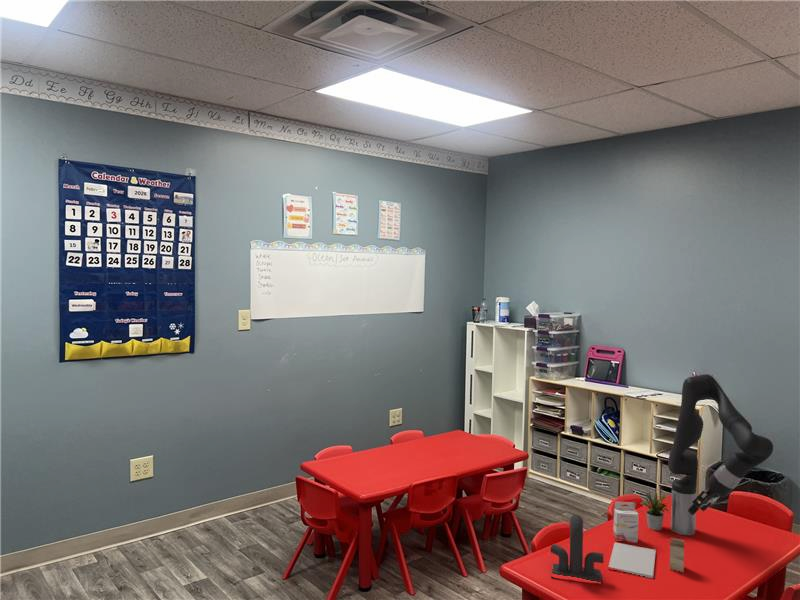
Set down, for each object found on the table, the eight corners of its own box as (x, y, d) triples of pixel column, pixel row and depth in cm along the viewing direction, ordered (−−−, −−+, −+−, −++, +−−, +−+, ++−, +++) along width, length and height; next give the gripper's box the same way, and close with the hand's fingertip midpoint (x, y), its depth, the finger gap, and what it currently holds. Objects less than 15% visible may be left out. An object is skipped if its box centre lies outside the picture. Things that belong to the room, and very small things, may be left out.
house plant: (633, 531, 251) (633, 492, 250) (634, 518, 263) (634, 482, 263) (670, 537, 245) (671, 497, 244) (669, 524, 258) (670, 486, 257)
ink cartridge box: (616, 541, 241) (616, 505, 240) (613, 536, 246) (613, 501, 245) (638, 542, 240) (639, 506, 239) (634, 537, 245) (635, 502, 244)
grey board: (614, 544, 238) (614, 542, 238) (655, 552, 231) (655, 549, 231) (608, 569, 218) (608, 566, 218) (652, 578, 212) (653, 575, 212)
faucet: (601, 564, 222) (602, 511, 221) (603, 585, 207) (604, 528, 206) (550, 557, 227) (551, 505, 226) (549, 577, 212) (550, 522, 211)
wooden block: (670, 564, 222) (670, 537, 222) (683, 566, 220) (684, 540, 220) (669, 569, 218) (670, 542, 218) (683, 572, 216) (684, 545, 216)
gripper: (724, 469, 213) (696, 499, 220) (706, 473, 204) (678, 505, 211) (742, 485, 209) (713, 516, 215) (725, 490, 199) (695, 522, 206)
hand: (695, 510), depth 213 cm, fingers open, 8 cm apart
